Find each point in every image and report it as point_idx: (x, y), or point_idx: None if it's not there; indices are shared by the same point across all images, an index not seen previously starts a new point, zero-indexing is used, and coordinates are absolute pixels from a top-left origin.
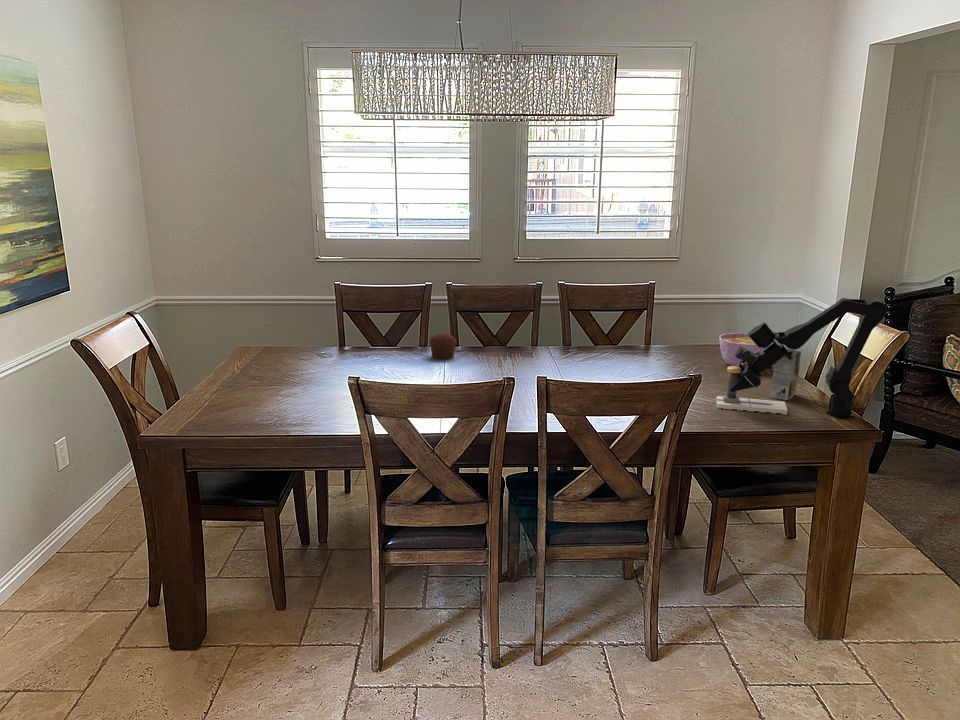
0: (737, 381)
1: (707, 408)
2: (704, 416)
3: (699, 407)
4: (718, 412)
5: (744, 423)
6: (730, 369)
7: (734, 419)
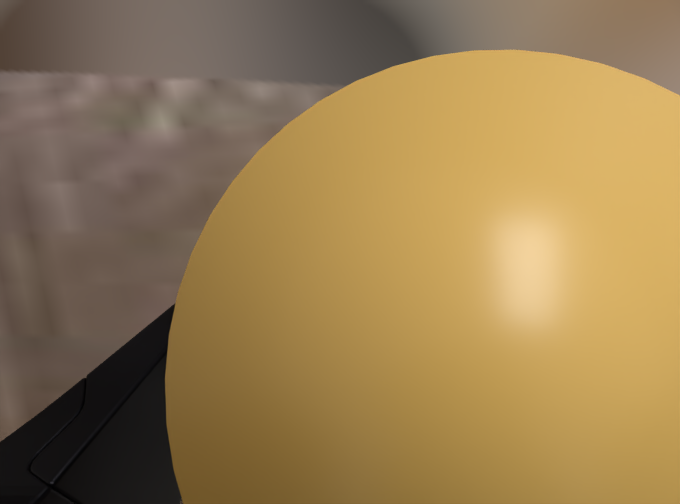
0: (102, 402)
1: (255, 147)
2: (84, 137)
3: (260, 96)
4: (189, 221)
5: (4, 394)
6: (232, 193)
7: (70, 328)
